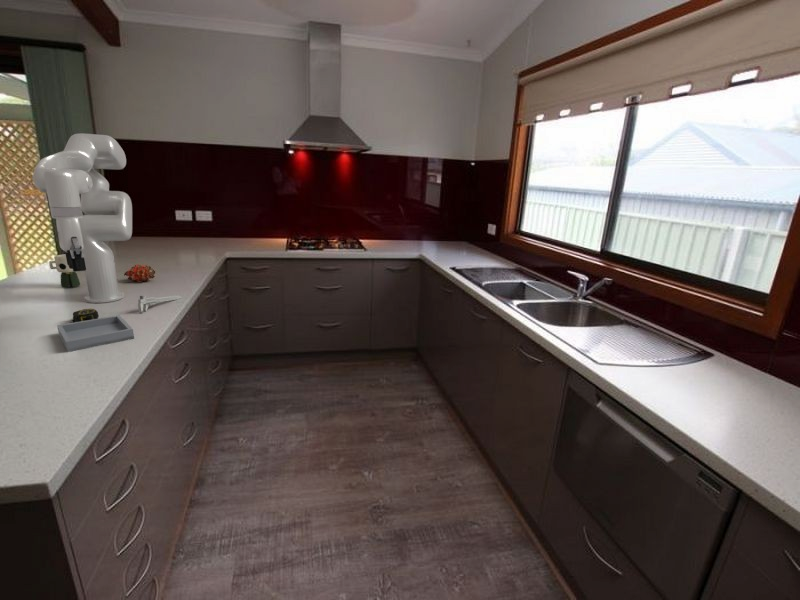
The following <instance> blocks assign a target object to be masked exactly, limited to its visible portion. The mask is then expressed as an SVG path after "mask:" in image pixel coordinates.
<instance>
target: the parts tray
mask: <svg viewBox="0 0 800 600" xmlns="http://www.w3.org/2000/svg"><path fill="white" fill-rule="evenodd" d="M56 326H57V331H58V335H59V338H60V339H61V341H62V343H63V345H64V347H65V349H66V351H67V352H68V353H71V352H73V351H79V350H84V349H89V348H94V346H95V347H100V346H105V345H108V343H109V344H114V343H118V342H123V341H128V339H129V340H133V339H135V336H134V329H133V327H132V326H130V324H129V323H128V322H127V321H126V320H125V319H124V318H123V317H122V316H121V315H120V314H118V315H111V316H105V317H100V318H99V317H98V319H92V320H87V321H81V322H75V323H72V322H69V323H64V324H58V325H56ZM104 344H105V345H104ZM99 345H100V346H99Z"/></svg>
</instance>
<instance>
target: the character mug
mask: <svg viewBox="0 0 800 600" xmlns="http://www.w3.org/2000/svg"><path fill="white" fill-rule="evenodd" d="M53 259H54V260H50V261H49V262H48V264H49V269H51V270H56V272H58V273H61V274H60V287H62V288H70V287H73V288H76V287H79V286H80V285H81V282H80V279H79V276H78V273H76V272H77V271H76V272H74V271H73V267H72V265H68V264H67V259H66V254H64V253H63V254H57V255H54V257H53ZM54 264H55V266H53V265H54Z"/></svg>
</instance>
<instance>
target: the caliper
mask: <svg viewBox="0 0 800 600" xmlns="http://www.w3.org/2000/svg"><path fill="white" fill-rule="evenodd" d="M182 298H183V297H182V296H180V295H178V294H177V295H170V296H163V297H155V296H154V297H146V295H139V298H138V301H137V307H138V313H139V314H143V313H147V311H148V308H149V306H153V305H154V306H156V304H157V303H163V302H169V301H177V300H179V299H182Z"/></svg>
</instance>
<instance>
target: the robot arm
mask: <svg viewBox="0 0 800 600" xmlns="http://www.w3.org/2000/svg"><path fill="white" fill-rule="evenodd" d="M126 157H127V156H126V154H125V151H124V150H123V148H122V147H121V145H120V144H119V142H118V141H117V140H116V139H115V138H113V137H112V136H111V135H106V134H97V133H96V134H94V133H75V134H72V135H71V136H70V137H69V138H68V141H67V143H66V145H65V147H64V149H63V150H62V151H59V152H56V153H53V154H50V155H47V156H45V157H43V158H41V159H40V160H39V161H38V162H37V164H36V166H35V167H34V170H33V174H32V182H33V184H34V186H35V188H36V189H37V190H38V191H40V192H42V193H44V194H46V195H47V198H48V199H47V200H48V204H49V209H50V211H49V212H50V215H51V218H52V219H55V222H56V231H57V236H58V242H59V247H60V249H61V250H63V252H65V254H66V259H67V264H68V265H72V267H73V271H74V272H84V274H85V279H86V285H87V290H88V294H87V295H85V296H84V301H85V302H86V303H93V304H97V303H98V304H99V303H100V304H102V303H103V304H104V303H109V302H110V303H111V302H115V301H118V300H119V301H120V300H122V299H123V298H124V297H125V293H124V292H123V291H120V289H119V283H118V276H117V270H116V263H115V257H114V252H113V250H112V249H111V247H109V246H108V245H107V244H106V243H105V242H126V241H128V240H130V239H131V238H132V235H133V203H132V199H131V197H130V196H129V194H128V193H126V192H124V191H120V190H110V183H109V181H108V179H106V177H104V176H103V175H102V174H101V173H100V172H98V171H97V170H95V169H99V170H100V169H101V170H124V168H125V167H126V165H127V158H126ZM83 213H84V215H83Z"/></svg>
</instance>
